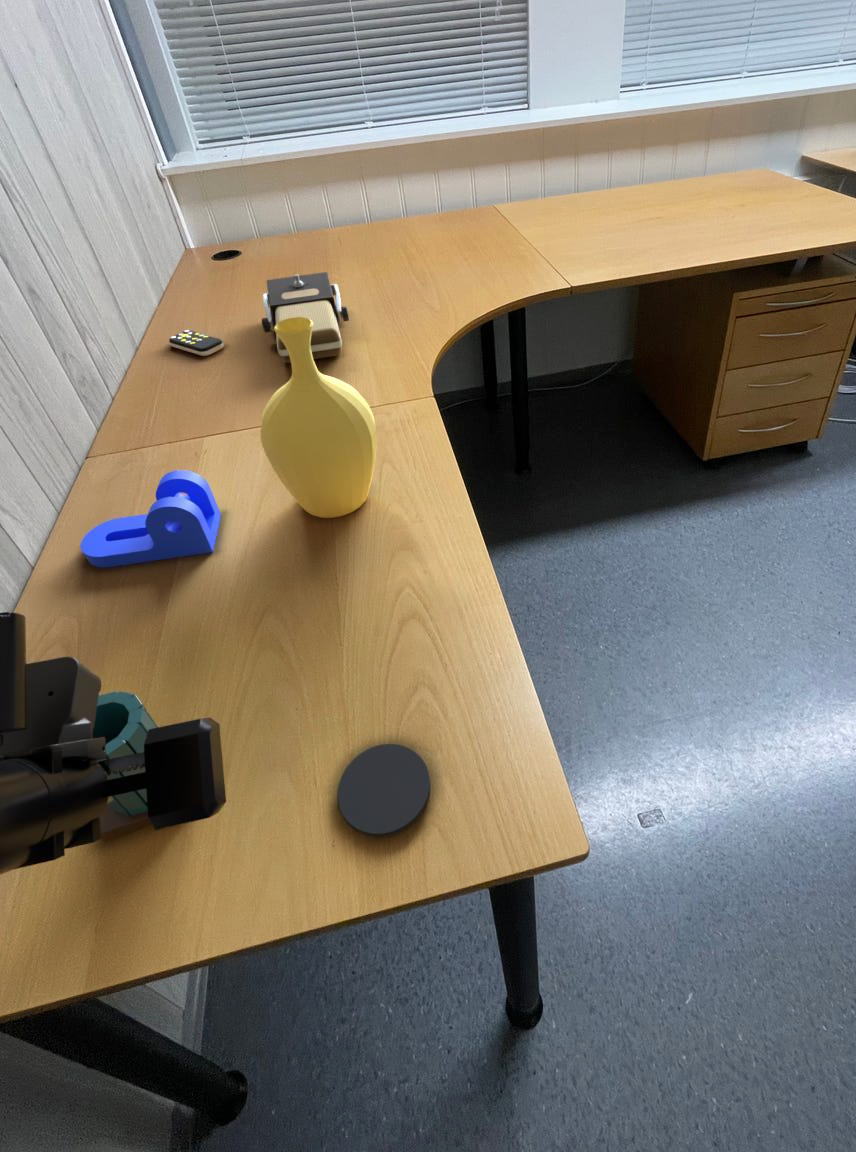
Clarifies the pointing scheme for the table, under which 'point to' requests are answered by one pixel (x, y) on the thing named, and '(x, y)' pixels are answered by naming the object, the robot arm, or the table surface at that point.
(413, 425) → the table surface
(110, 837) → the stand
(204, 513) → the bracket
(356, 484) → the vase
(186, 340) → the remote control
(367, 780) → the pad
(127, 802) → the slatted teal pen holder
